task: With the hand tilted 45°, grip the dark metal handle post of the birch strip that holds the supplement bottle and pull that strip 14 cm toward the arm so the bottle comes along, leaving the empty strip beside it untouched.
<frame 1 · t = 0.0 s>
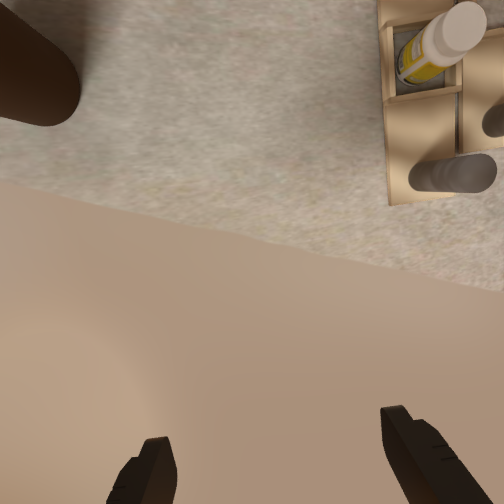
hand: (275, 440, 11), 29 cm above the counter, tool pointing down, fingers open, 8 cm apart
olive oil: (42, 84, 35), on the counter
can strip: (442, 87, 30), point 5 cm above the counter, slide at 0.0 cm
supplement bottle: (413, 65, 35), resting in can strip
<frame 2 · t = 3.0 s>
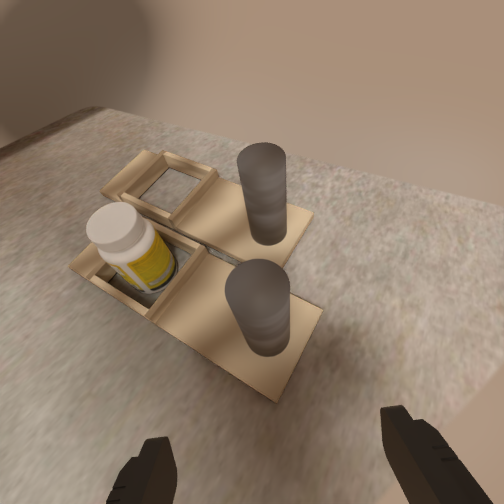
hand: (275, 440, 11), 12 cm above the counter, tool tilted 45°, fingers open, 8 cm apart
empty strip: (186, 172, 29), point 5 cm above the counter, slide at 0.0 cm
can strip: (166, 264, 23), point 5 cm above the counter, slide at 0.0 cm
supplement bottle: (155, 273, 29), resting in can strip
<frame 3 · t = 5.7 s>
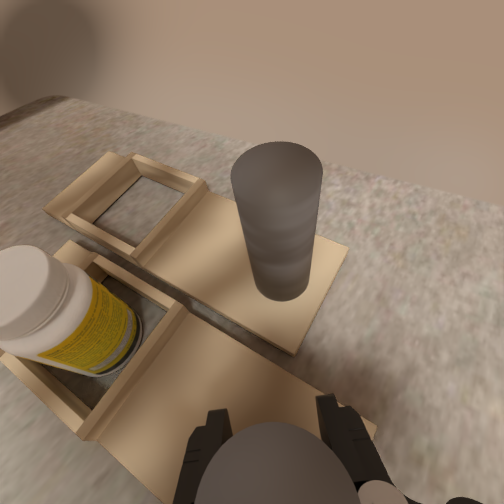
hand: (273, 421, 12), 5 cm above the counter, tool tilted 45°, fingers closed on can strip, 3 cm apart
empty strip: (156, 187, 19), point 5 cm above the counter, slide at 0.0 cm
can strip: (108, 352, 13), point 5 cm above the counter, slide at 0.0 cm, touching gripper
supplement bottle: (110, 340, 19), resting in can strip
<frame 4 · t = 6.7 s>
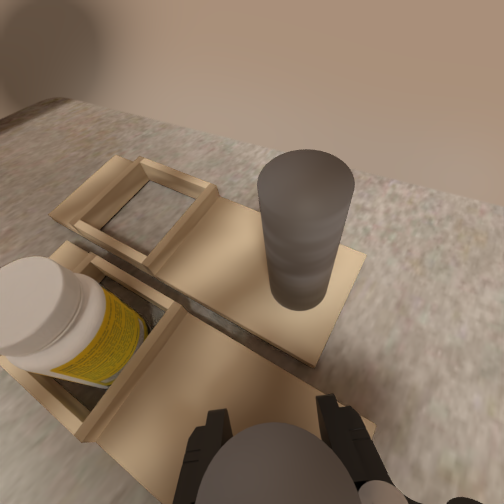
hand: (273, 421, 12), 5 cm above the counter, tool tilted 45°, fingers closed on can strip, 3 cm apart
empty strip: (169, 194, 18), point 5 cm above the counter, slide at 0.0 cm
can strip: (107, 353, 13), point 5 cm above the counter, slide at 1.3 cm, touching supplement bottle, gripper
supplement bottle: (120, 349, 19), resting in can strip
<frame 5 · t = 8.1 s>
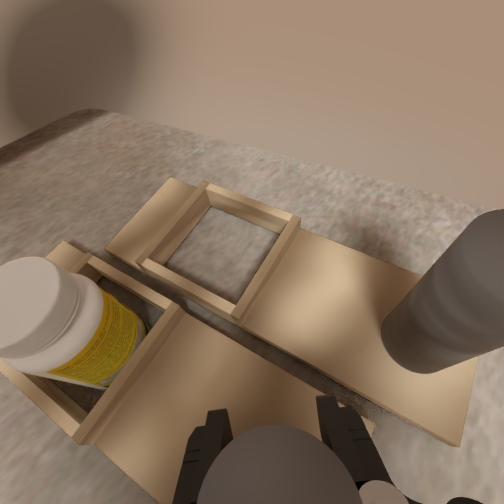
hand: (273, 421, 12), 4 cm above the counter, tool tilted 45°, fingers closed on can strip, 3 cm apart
empty strip: (268, 237, 16), point 5 cm above the counter, slide at 0.0 cm
can strip: (104, 355, 13), point 5 cm above the counter, slide at 8.6 cm, touching supplement bottle, gripper
supplement bottle: (118, 350, 19), resting in can strip
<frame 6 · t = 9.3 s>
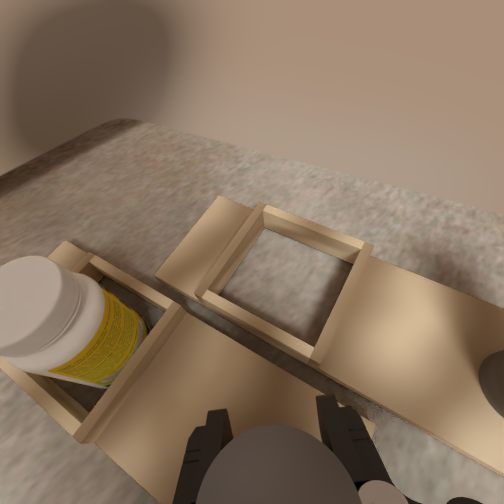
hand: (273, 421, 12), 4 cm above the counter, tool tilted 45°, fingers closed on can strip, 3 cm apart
empty strip: (358, 275, 14), point 5 cm above the counter, slide at 0.0 cm
can strip: (106, 354, 13), point 5 cm above the counter, slide at 13.4 cm, touching supplement bottle, gripper
supplement bottle: (119, 349, 19), resting in can strip
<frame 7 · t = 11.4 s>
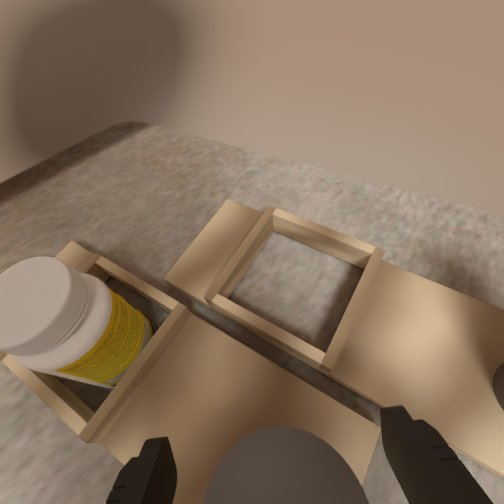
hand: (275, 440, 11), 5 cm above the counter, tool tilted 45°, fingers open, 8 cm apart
empty strip: (371, 280, 14), point 5 cm above the counter, slide at 0.0 cm
can strip: (112, 354, 13), point 5 cm above the counter, slide at 13.8 cm
supplement bottle: (125, 349, 19), resting in can strip
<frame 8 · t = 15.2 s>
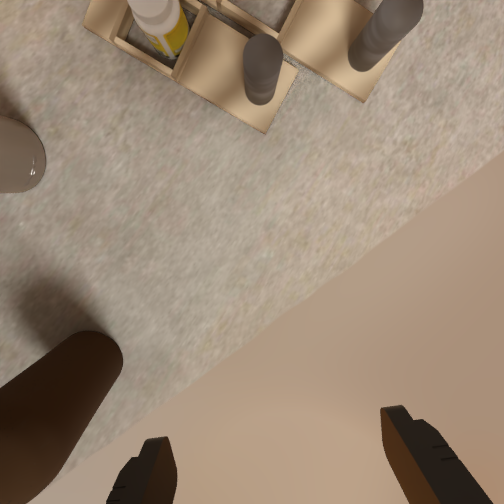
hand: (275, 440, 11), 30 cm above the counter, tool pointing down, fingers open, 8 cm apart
olive oil: (92, 357, 44), on the counter
can strip: (184, 29, 30), point 5 cm above the counter, slide at 13.8 cm
supplement bottle: (172, 38, 35), resting in can strip
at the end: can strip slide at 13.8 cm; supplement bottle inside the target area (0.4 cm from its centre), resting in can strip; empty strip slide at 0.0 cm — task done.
